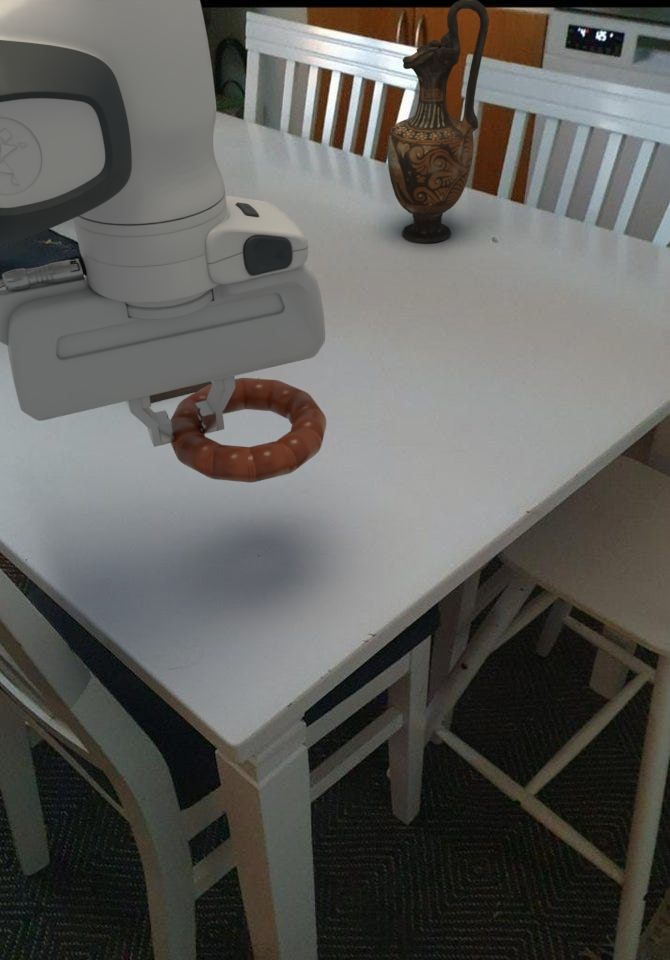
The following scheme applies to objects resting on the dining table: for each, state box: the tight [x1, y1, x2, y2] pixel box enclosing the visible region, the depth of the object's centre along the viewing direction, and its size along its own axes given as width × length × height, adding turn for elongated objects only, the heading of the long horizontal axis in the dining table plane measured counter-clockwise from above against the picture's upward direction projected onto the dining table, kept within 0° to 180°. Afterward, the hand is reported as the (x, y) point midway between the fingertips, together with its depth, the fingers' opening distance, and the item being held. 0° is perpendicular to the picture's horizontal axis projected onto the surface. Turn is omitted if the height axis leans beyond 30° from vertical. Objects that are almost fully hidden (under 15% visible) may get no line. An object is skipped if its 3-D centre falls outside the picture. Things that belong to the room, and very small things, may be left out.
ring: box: [170, 377, 327, 483], centre depth 59 cm, size 11×11×2 cm
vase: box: [386, 0, 490, 244], centre depth 108 cm, size 12×12×30 cm
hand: (187, 433), depth 57 cm, fingers closed on ring, 2 cm apart
